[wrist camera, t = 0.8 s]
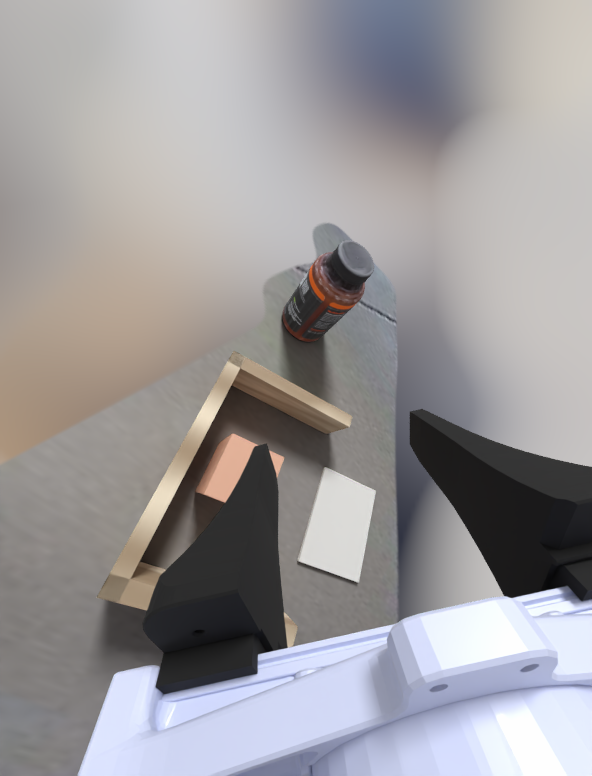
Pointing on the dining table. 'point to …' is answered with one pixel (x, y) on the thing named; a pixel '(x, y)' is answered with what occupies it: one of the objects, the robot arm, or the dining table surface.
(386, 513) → the dining table surface
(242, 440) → the block
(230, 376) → the wooden u-shaped frame
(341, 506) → the pad
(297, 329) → the supplement bottle
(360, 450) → the dining table surface
